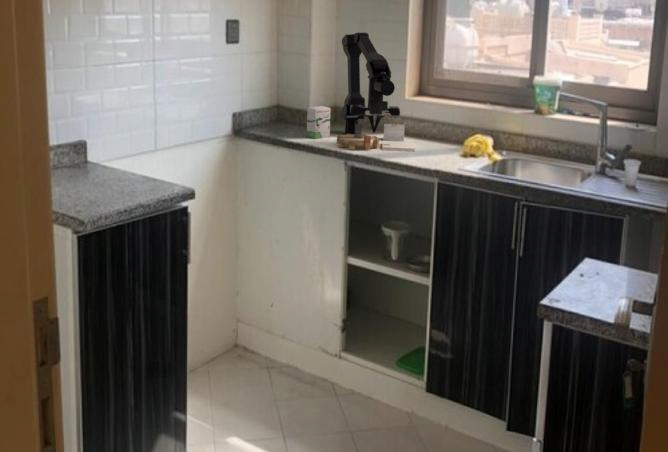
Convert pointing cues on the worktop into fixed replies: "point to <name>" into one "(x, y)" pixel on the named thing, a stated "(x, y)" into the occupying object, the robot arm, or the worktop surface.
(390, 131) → the marked link
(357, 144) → the sprocket
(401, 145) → the pad
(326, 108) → the ink box
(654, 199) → the worktop surface
